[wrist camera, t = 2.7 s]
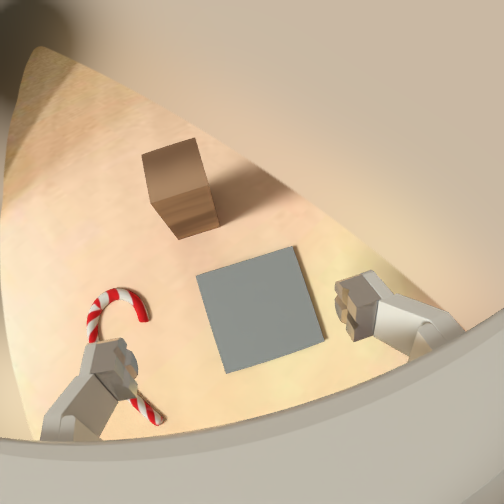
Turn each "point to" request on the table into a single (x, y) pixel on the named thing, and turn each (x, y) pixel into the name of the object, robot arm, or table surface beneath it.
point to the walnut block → (180, 188)
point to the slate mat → (259, 309)
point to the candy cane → (93, 337)
